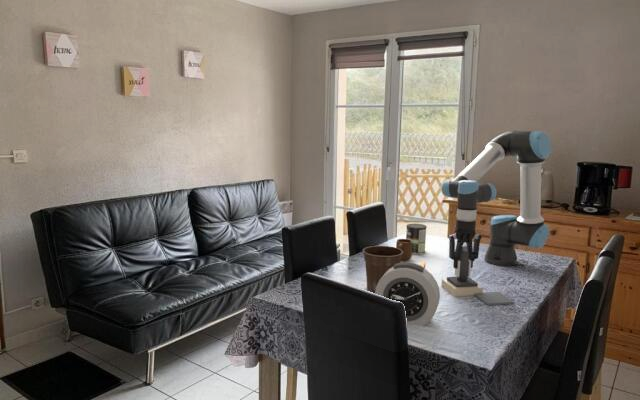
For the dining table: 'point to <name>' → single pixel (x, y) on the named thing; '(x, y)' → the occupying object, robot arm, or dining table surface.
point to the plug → (463, 271)
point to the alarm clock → (411, 291)
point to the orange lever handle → (423, 264)
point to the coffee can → (417, 237)
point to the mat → (493, 298)
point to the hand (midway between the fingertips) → (462, 275)
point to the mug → (405, 248)
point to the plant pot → (379, 263)
